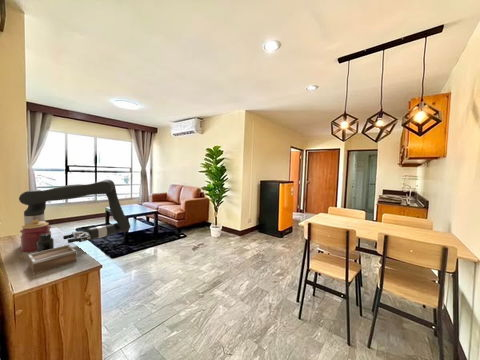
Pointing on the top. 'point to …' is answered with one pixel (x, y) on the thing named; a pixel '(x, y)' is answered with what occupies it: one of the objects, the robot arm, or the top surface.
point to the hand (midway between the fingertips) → (65, 239)
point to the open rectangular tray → (51, 258)
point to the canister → (33, 234)
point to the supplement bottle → (45, 242)
